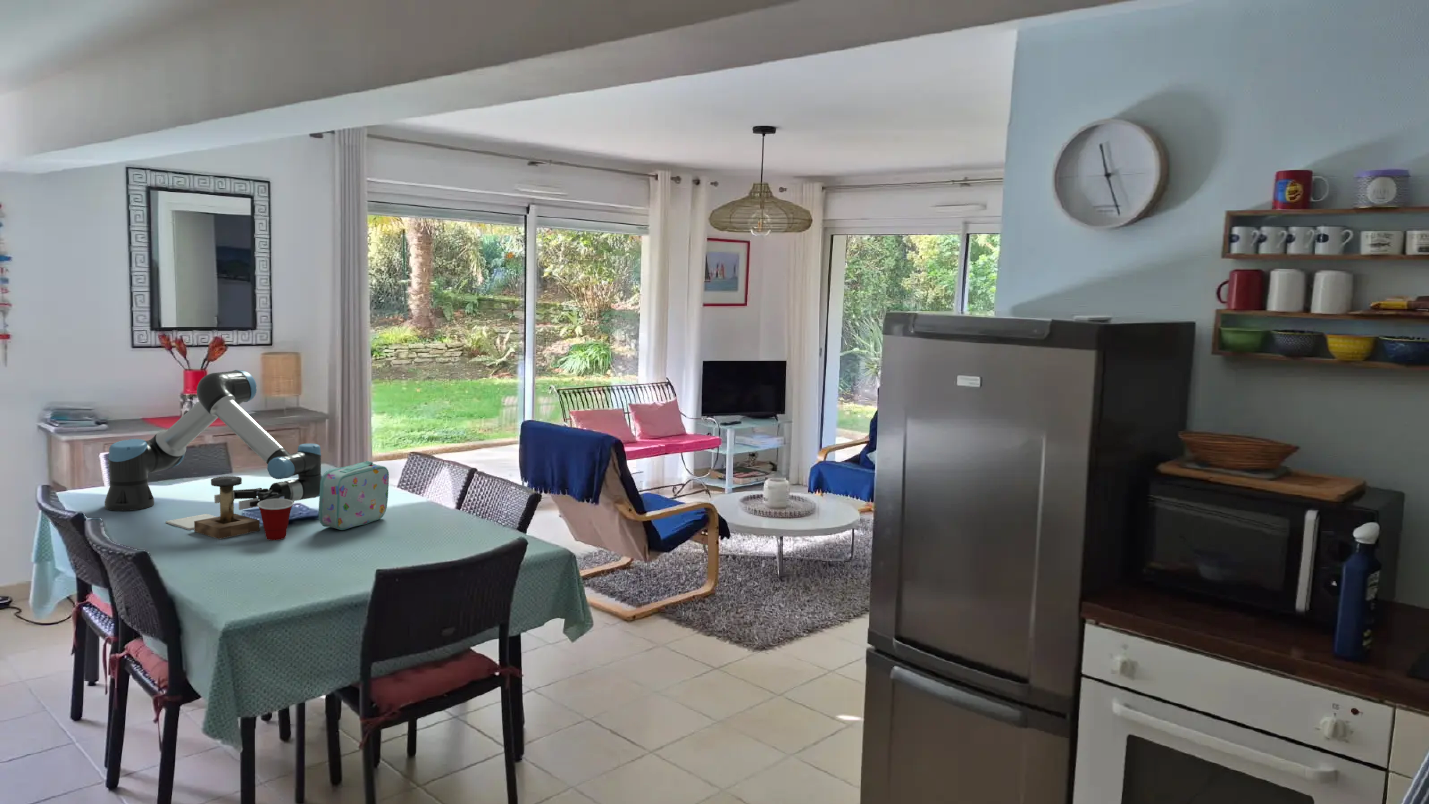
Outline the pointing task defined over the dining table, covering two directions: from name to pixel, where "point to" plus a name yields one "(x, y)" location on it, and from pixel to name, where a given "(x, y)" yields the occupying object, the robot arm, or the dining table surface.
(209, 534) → the eye block
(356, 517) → the lunch box
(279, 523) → the plastic cup
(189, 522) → the pad
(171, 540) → the dining table surface
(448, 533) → the dining table surface
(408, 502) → the dining table surface
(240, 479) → the mushroom top post
